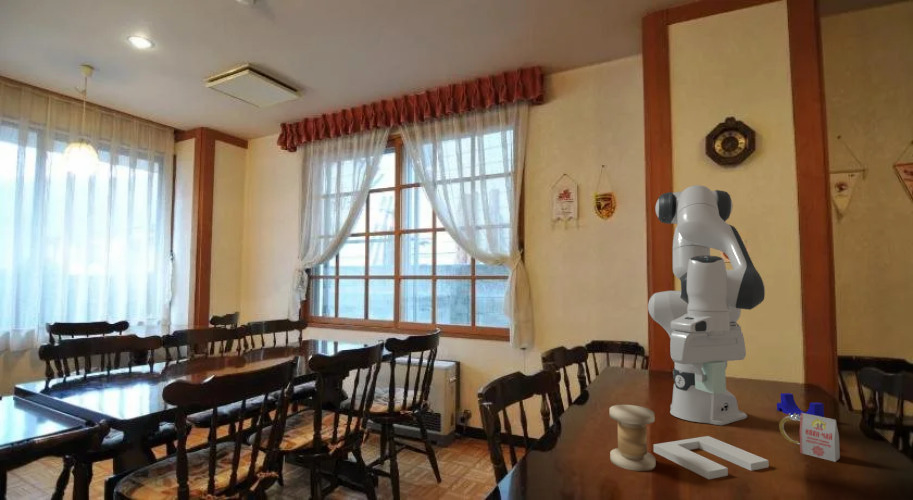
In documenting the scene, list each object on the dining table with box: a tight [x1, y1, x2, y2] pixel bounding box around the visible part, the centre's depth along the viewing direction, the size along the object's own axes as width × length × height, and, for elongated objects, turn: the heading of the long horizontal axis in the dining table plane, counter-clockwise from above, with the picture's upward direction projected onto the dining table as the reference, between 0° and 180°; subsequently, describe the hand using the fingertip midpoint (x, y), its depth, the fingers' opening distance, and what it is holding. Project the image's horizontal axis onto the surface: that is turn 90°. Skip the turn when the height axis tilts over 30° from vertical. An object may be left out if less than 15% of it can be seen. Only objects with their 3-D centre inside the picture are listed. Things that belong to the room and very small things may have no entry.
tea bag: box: [799, 412, 841, 463], centre depth 107 cm, size 4×7×10 cm, turn 37°
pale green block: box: [695, 362, 727, 394], centre depth 105 cm, size 4×5×7 cm
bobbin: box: [609, 404, 657, 472], centre depth 105 cm, size 10×10×12 cm
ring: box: [778, 413, 801, 445], centre depth 115 cm, size 7×3×8 cm, turn 28°
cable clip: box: [776, 392, 825, 417], centre depth 137 cm, size 12×4×6 cm, turn 6°
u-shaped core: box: [653, 435, 770, 480], centre depth 105 cm, size 18×16×2 cm
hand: (709, 380), depth 105 cm, fingers closed on pale green block, 4 cm apart
